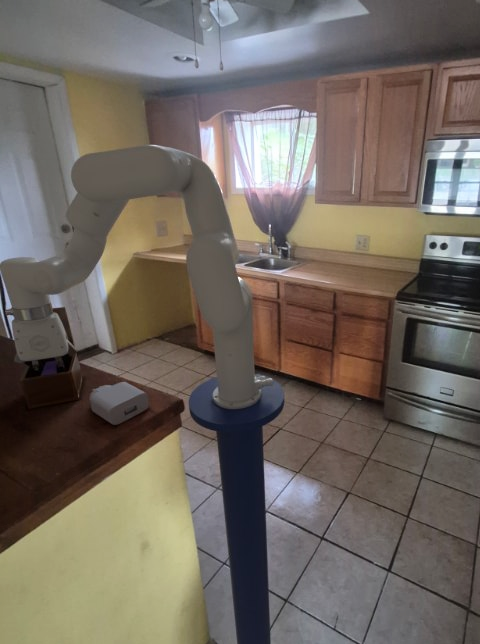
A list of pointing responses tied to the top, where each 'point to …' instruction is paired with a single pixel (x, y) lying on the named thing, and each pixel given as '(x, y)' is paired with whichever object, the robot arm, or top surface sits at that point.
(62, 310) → the lid
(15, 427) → the top surface
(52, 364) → the purple rectangular block
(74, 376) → the chest
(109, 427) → the top surface
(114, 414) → the charger
